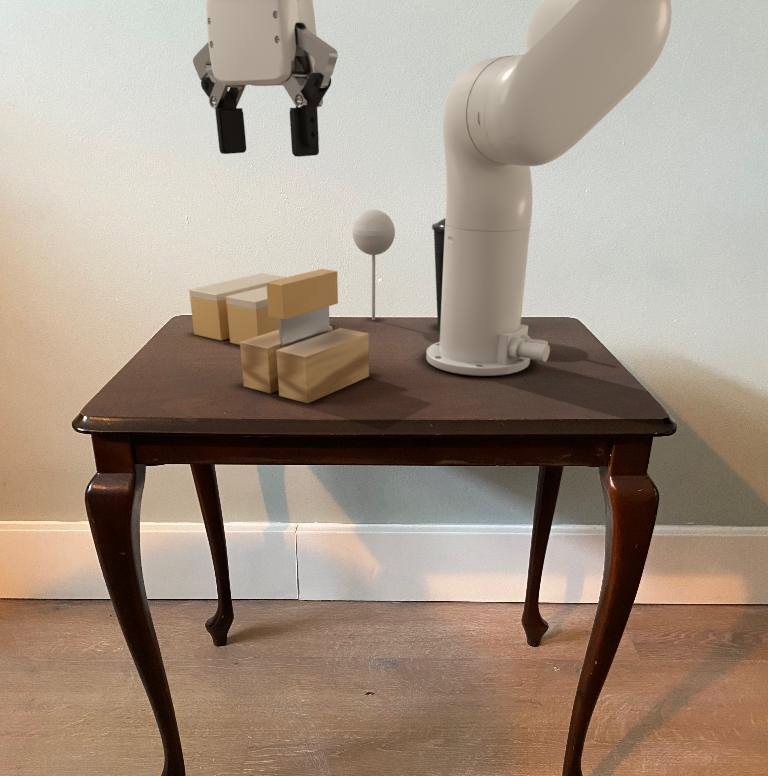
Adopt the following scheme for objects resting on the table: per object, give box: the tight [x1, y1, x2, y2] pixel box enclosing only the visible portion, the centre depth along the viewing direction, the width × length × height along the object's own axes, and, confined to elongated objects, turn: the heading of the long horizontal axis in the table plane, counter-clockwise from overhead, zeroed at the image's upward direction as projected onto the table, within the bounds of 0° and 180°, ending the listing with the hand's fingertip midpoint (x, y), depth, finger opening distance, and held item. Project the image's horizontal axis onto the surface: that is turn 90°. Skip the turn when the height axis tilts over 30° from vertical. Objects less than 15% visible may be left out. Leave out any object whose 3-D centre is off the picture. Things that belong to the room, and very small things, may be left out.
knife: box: [266, 268, 339, 349], centre depth 80 cm, size 2×9×12 cm, turn 145°
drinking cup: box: [431, 217, 446, 330], centre depth 98 cm, size 8×8×20 cm
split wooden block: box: [239, 325, 370, 404], centre depth 81 cm, size 9×11×5 cm
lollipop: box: [351, 209, 396, 321], centre depth 103 cm, size 6×6×15 cm
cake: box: [188, 272, 287, 346], centre depth 100 cm, size 12×14×6 cm
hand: (268, 154), depth 72 cm, fingers open, 9 cm apart
